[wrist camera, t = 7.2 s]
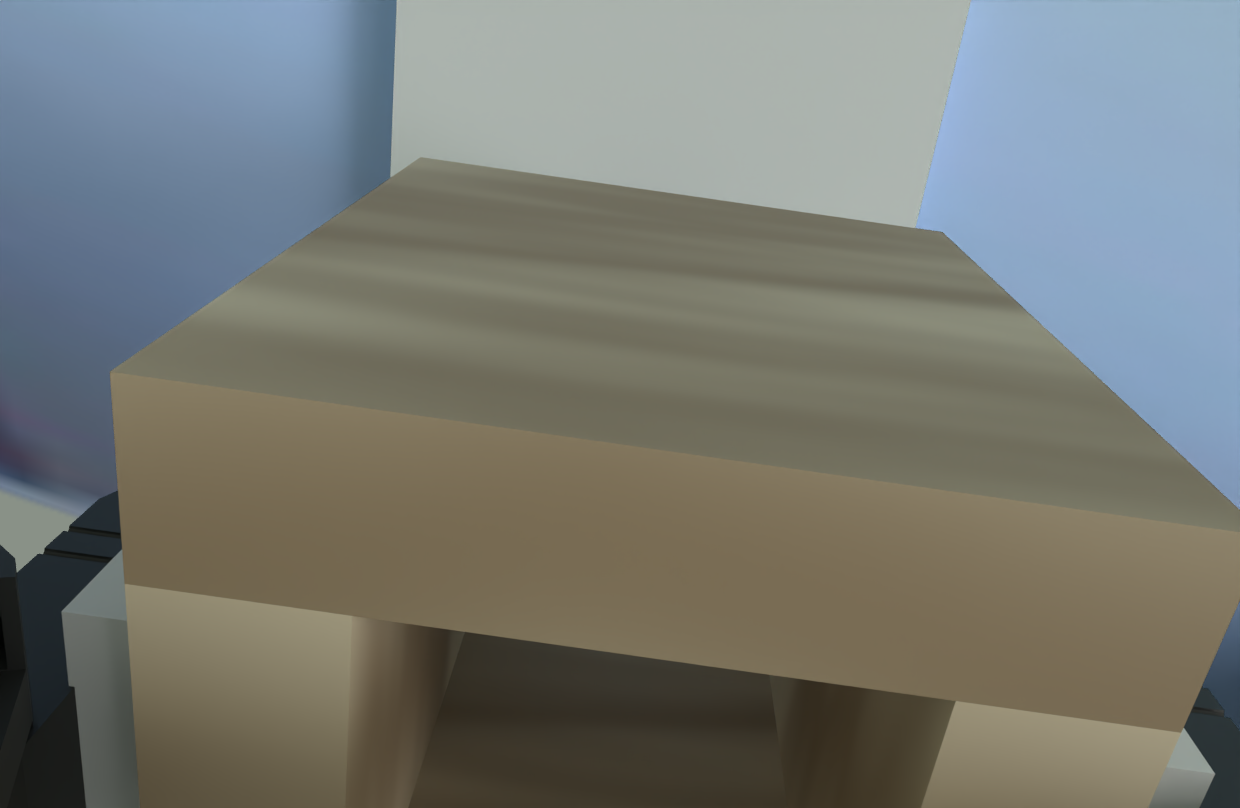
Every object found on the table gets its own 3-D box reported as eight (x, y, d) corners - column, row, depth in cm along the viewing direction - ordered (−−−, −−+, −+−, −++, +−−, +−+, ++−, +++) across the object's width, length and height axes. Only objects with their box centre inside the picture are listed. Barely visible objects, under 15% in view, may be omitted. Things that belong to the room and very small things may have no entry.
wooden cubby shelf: (420, 156, 13) (31, 426, 5) (942, 231, 13) (1351, 614, 5) (396, 599, 16) (114, 1224, 8) (830, 660, 16) (987, 1345, 8)
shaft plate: (414, -120, 24) (327, -151, 18) (968, -43, 23) (1058, -51, 18) (389, 485, 30) (319, 604, 24) (826, 546, 30) (859, 681, 24)
